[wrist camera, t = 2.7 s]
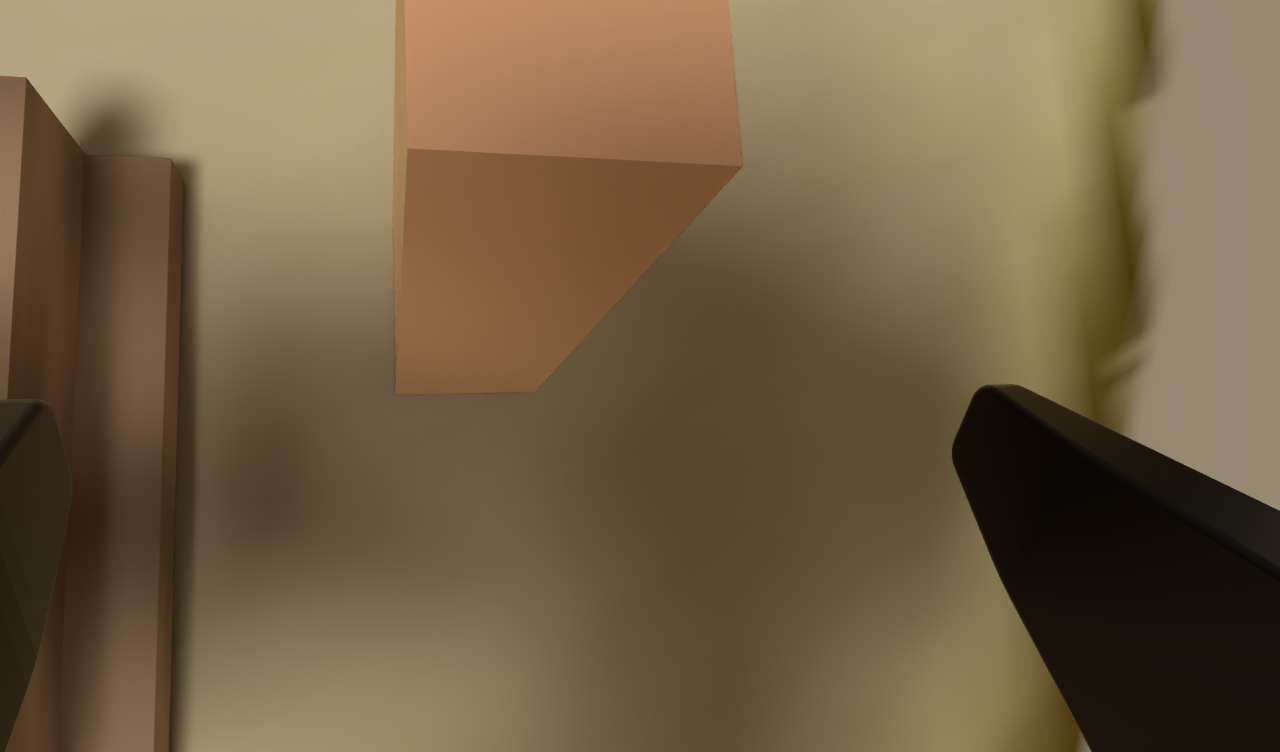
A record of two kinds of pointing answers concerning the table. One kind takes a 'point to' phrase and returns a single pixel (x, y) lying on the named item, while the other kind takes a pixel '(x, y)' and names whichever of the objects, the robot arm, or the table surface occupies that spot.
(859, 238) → the table surface
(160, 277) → the slotted wooden tray
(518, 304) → the clay slab
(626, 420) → the table surface
